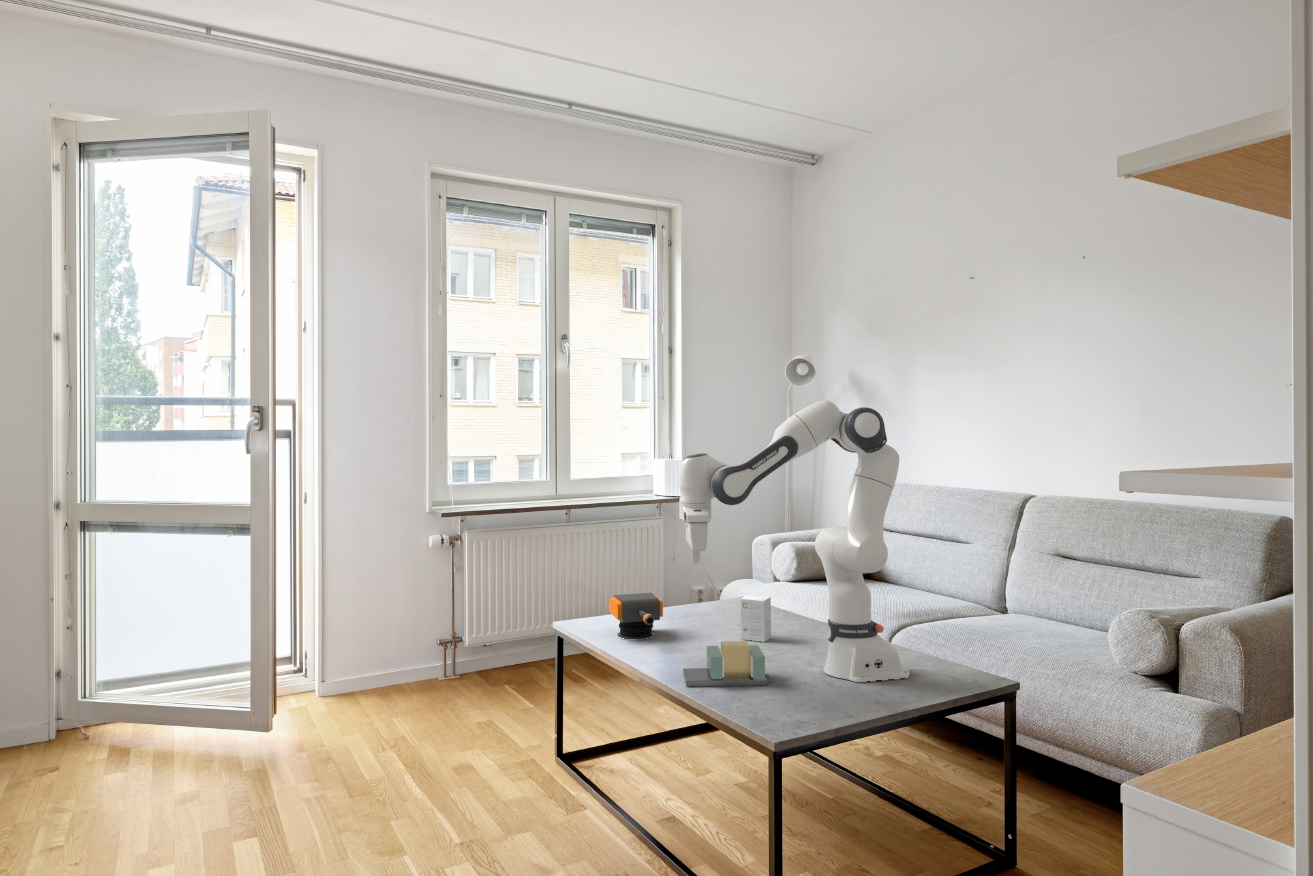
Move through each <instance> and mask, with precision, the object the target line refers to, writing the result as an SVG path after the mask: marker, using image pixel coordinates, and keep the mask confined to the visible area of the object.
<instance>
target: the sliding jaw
mask: <svg viewBox="0 0 1313 876" xmlns="http://www.w3.org/2000/svg"><path fill="white" fill-rule="evenodd" d="M706 668H707V669H708V672H709V675H710V678H711V679H723V677H724V657H723V654H722V652H721V647H719V646H718V645H706Z"/></svg>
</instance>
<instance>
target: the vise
mask: <svg viewBox="0 0 1313 876" xmlns="http://www.w3.org/2000/svg"><path fill="white" fill-rule="evenodd" d="M749 660H750V676H724V677H723V679H711V678H710V675H709V672H708V669H707V667H694V668H693V667H691V668H689V667H687V668H682V674H683V675H684V676H683V675H682V676H683V679H685V681H684V685H685V684H686V685H685V687H686V686H696V687H740V686H741V687H743V686H745V687H746V686H748V687H749V686H750V685H754V686H767V685H768V678H767V677H766V657H765V654H764V653H763V651H762V650H761V648H760V646H759V645H758V644H757V645H755V644H754V645H752V644H751V645H750V644H749Z"/></svg>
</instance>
